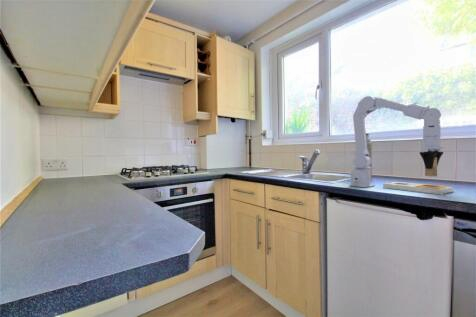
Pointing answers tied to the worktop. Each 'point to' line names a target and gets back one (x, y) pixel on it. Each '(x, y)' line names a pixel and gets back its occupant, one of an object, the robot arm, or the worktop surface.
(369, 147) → the thermos bottle
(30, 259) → the worktop surface
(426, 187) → the rail plate
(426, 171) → the peg
